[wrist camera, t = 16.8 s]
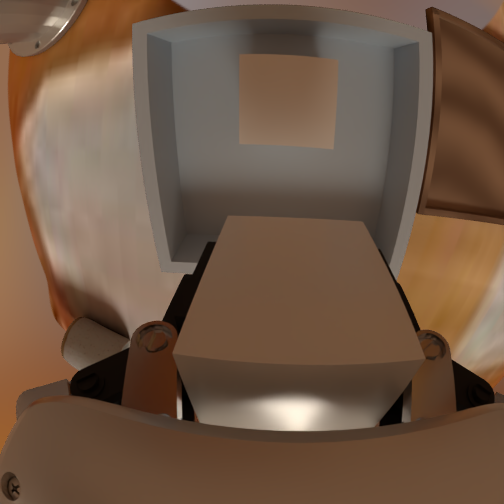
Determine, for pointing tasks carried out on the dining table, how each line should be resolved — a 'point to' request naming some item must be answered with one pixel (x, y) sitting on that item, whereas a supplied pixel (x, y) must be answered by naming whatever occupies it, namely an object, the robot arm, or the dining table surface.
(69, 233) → the dining table surface
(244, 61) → the beige block
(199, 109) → the tub
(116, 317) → the dining table surface
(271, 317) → the stone
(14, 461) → the robot arm
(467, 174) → the walnut tray
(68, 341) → the ceramic mug
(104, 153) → the dining table surface
